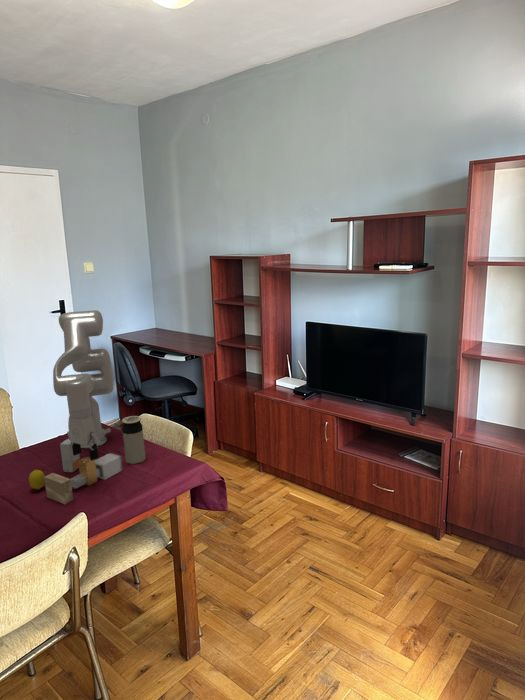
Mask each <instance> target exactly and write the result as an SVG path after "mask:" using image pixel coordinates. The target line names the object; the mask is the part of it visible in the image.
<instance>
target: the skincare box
mask: <svg viewBox="0 0 525 700" xmlns="http://www.w3.org/2000/svg"><path fill="white" fill-rule="evenodd" d="M59 446H60V447H59V448H60V455H61V461H62V470H63V471H62V472H64V473H74V472H75V471H76V470H77V469H79V463H78V461H79V460H81V458H80V457H81V456H80V454H77V455H75V456H74V455H73V449H72V445H71V441H70V440H69V437H68V438H66V439H64V441H62V442H61V443H60V444H59Z"/></svg>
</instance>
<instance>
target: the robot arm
mask: <svg viewBox="0 0 525 700" xmlns="http://www.w3.org/2000/svg"><path fill="white" fill-rule="evenodd" d="M58 324H59V326H60V329H61V330H62V332H63V338H64V339H63V340H64V341H63V342H64V352H63V353H62V354H61V356H59V358H58V359H57V360H56V362H55V364H54V367H53V369H52V382H53V383H52V384H53V390H54V393H55V394H56V395H57V396H59V397H66V400H67V407H68V421H67V422H68V431H67V432H66V434H67V436H68V438H69V440H70V441H71V445H72V449H73V455H74V456H75V455H77V454H79V455H80V454H81V453H82V449H89V451H88V452H89V458H90V460H91V461H92V460H97V459H99V449H98V448H99V447H101V446H102V445H104V444H105V443H106V442H107V439H108V438H107V436H106V435H107V434H109V433H111V432H112V430H111V428H109V427H108V428H106V429H105V428H103V427H102V421H101V420H102V419H101V413H100V405H99V403H98V401H97V400H96V399H95V398H94V397H96V396H102V395H103V396H104V395H109V394H111V393H112V392H113V391H114V382H113V381H114V380H113V379H114V378H113V372H112V363H111V356H110V353H109V351H108V350H107V349H105V348H92V347H91V339H90V337H99V336H101V335H102V334H103V330H104V319H103V314H102V313H101V312H100V311H99V310H83V311H69V312H65V313H62V314H60V315H59V316H58ZM70 365H71V366H72V369H73V372H76V373H78V374H66V375H62V373H63V371H64V370H65V369H66V368H67V367H69V366H70ZM89 372H99V373H91V374H90V373H89Z"/></svg>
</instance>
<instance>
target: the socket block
mask: <svg viewBox="0 0 525 700" xmlns="http://www.w3.org/2000/svg"><path fill="white" fill-rule="evenodd" d="M70 479H71V478H68V477H65V476H62V475H60V474H57V473H55V472H51V473H49V474H48V475H45V477H44V480H45V484H44V486H45V492H46V497H47V498H48V499H50V500H53V501H55V502H58V503H61V504H63V505H66V504H68V503H70V502H72V501H74V495H73V487H71V480H70Z"/></svg>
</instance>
